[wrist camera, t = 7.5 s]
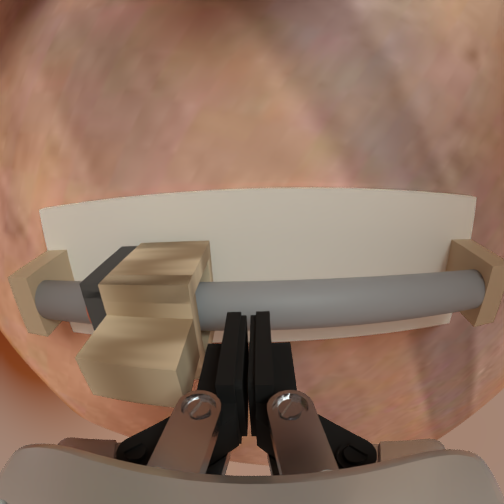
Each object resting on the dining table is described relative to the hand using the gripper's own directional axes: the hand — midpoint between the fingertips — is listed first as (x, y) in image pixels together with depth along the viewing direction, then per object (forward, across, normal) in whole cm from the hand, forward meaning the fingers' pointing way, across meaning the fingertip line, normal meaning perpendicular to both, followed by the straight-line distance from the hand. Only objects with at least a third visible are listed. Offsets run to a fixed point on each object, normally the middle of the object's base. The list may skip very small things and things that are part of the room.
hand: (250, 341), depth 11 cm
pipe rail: (+7, 0, 0) cm, 7 cm away
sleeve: (+5, +4, 0) cm, 7 cm away
